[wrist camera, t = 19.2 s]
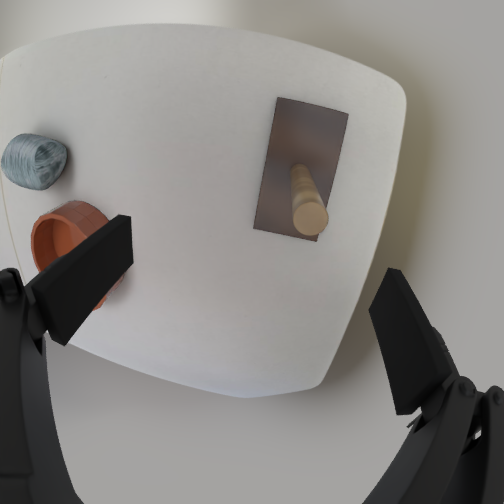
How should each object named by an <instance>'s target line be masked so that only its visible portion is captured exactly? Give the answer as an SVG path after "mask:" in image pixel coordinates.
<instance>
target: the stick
mask: <svg viewBox="0 0 504 504" xmlns="http://www.w3.org/2000/svg"><path fill="white" fill-rule="evenodd" d="M290 181H291V196H292V213H293V223H294V226H295V228H296V229H297V230H298V231H299V232H300V233H302V234H304V235H309V236H312V235H316V234H319V233H321V232H322V231H323V230H324V229H325V228H326V226H327V224H328V213H327V211H326V208H325V206H324V204H323V201H322V199H321V196H320V194H319V192H318V190H317V187H316V185H315V183H314V181H313V178H312V176H311V174H310V172H309V169H308V168H307V167H306V166H305V165H303V164H296V165H294V166H293V167H292V168H291V170H290Z"/></svg>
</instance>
